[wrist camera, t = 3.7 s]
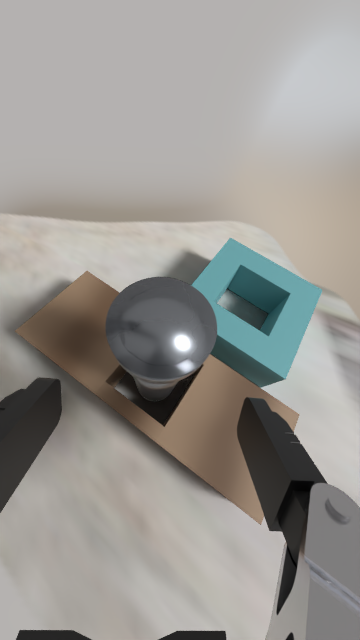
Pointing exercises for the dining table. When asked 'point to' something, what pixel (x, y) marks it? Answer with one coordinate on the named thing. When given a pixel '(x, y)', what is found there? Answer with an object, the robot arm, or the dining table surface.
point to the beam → (174, 435)
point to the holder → (267, 294)
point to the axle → (160, 333)
